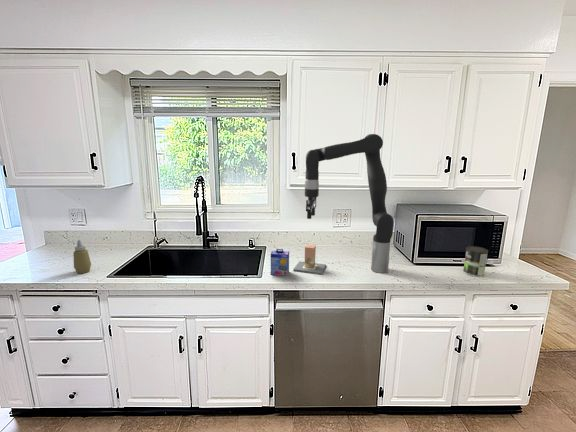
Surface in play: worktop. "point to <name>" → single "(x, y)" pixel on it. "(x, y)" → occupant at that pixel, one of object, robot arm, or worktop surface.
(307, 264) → the maple block
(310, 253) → the terracotta block
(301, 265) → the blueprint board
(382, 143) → the robot arm
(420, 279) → the worktop surface
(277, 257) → the ink cartridge box
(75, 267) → the squeeze bottle
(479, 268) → the coffee can
